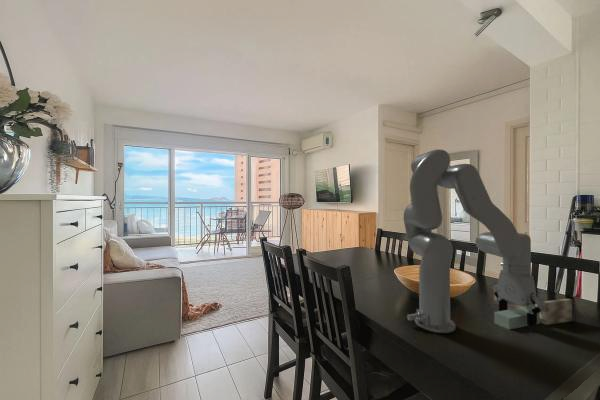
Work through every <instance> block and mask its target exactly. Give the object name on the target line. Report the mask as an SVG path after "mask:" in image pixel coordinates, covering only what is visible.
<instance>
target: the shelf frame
mask: <svg viewBox="0 0 600 400" xmlns="http://www.w3.org/2000/svg"><path fill="white" fill-rule="evenodd" d="M497 285H498V284H494V285H493V286H497ZM505 301H507V300H505ZM542 301H543V302H544V303H545V304H546V306H545V308H544V309H543V311H541V312H539V313H540V324H542V325H546V326H547V325H554V324H561V323H568V322H573V299H571V298H561V299H553V300H545V301H544V300H542ZM507 302H508V310H509V309H516V308H522V307H525V306H520V305H518V304H515V303H512V302H510V301H507ZM493 304H494V305H497V306H499V301H498V300H497V297H496V296H495V294H494V293H493ZM535 306H536V307H537V303H536V304H535ZM530 307H531V306H530ZM525 308H526V307H525ZM531 309H532V308H531Z"/></svg>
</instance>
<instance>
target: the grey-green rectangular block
mask: <svg viewBox="0 0 600 400" xmlns="http://www.w3.org/2000/svg"><path fill="white" fill-rule="evenodd" d="M527 313H529V312H528V310H527V309H526V308H525V307H522V308H516V309H508V310H503V311H499V310H498V311H494V312H493V314H494V315H493V316H494V318H493V320H494V321H493V322H494V324H495V325H498V326H499V327H501V328H505V329H506V330H509V331H510V330H514V329H519V328H524V327H528V326H529V325H527ZM539 324H541V323H540V313H537V324H536V325H539Z"/></svg>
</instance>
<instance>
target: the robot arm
mask: <svg viewBox="0 0 600 400" xmlns="http://www.w3.org/2000/svg"><path fill="white" fill-rule="evenodd" d="M450 164H451V156H450V154H449V152H447V151H446V150H443V149H433V150H430V151H427V152H425V153H422V154H419V155H417V156H415V157H414V158H413V160H411V164H410V168H411V172H412V175H411V179H410V183H409V192H410V200H411V203H409V204H408V205H407V206H406V207H405V209H404V210H403V222H404V224H403V225H404V228H405V234H406V238H407V243H408V246H409V248H410V250H411V251H412V252H413V253H414V254H416V255H418V256H419V257H421V261H420V264H419V268H418V284H419V285H418V296H419V297H418V298H419V299H418V301H419V302H418V305H419V308H417V309H416V312H415V313H410V314H409V313H408V314H407V315H406V318H407V320H408V321H414V322H415V324H416V325H417V326H418V327H420V328H422V329H424V330H426V331H428V332H432V333H438V334H448V333H453V332H454V331H456V329H457V328H456V323H455V322H454V321H453V320H452V319H451V279H450V278H451V263H452V258H453V253H454V250H453V244H452V243H451V241H450V240H449V239H448V237H446V236H444V235H442V234H440V233H436V232H434V231H433V230H436V229H438V228H439V227H440V226H441V225H442V223H443V214H442V209H441V203H440V199H439V193H438V186H439V187H441V188H445V189H448V190H449V189H450V190H451V189H454V191H455V193H456V196H457V198H458V201H459V202H460V205H461V207H462V209H463V211H464V212H465V213H466V214H467V215H469V216H470V217H472V218H474V219H475V220H477V221H478V222H479V223H481V224H482V225H483V226H485V228H487V229H488V231H489V232H488V231H485V232H483V233H482V232H481V233H479V235H477V237H476V238H475V246H476V247H477V248H478V249H479V251H481V252H483V253H486V254H489V255H493V256H495V257H496V256H497V257H501V258H502V262H500V266H501V267H502V269H501V270H500V272H499V275H498V281H497V282H498V283H497V284H496V285H497V286H494V285H493V286H492V287H491V288H492V290H493V295H494V294H495V296H496V297H497V300H498V301H499V305H498V311H503V310H509V309H508V302H507V301H510V302H512V303H515V304H518V305H520V306H525V307H526V309H527V310H528V312H529V313H527V325H529V326H530V327H531V326H536V325H538V324H537V313H539V312H541V311H543V309H544V308H545V306H546V304H545V303H544V302H543V301H544V300H542V299H541V298H539V297H538V296H537V292H536V290H537V289H536V284H535V280H534V275H532V254H531V253H532V251H531V250H532V249H531V248H532V240H531V239H532V238H531V237H530V236H531V235H528V234H526V233H520V232H518V231H517V228H516V226H515V225H514V223H513V221H511V219H510V218H509V217H508V216H507V215H506V214H505V213H504V212H503V211H502V210H501V209H500V208H499V207H497V206H496V205H495V204H494V202H493V201H492V200H491V198H490V194H488V190H487V189H486V186H485V185H484V184H485V183H484V182H483V180H482V178H481V175H480V173H479V171H478V169H477V168H476V167H475V165H473V164H471V163H459V164H454V165H450ZM432 231H433V232H432ZM505 300H507V301H505ZM535 304H537V307H536V306H535ZM530 306H531V307H530ZM531 308H532V309H531Z"/></svg>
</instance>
